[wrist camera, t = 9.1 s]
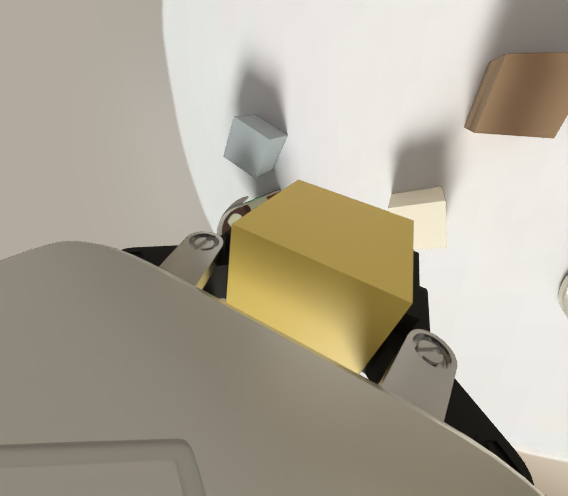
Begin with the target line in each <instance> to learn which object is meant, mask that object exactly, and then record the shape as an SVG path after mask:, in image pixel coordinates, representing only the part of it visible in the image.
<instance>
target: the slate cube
mask: <svg viewBox="0 0 568 496" xmlns="http://www.w3.org/2000/svg"><path fill="white" fill-rule="evenodd" d="M287 136H288V135H287V134H285V133H284V132H282V131H281V130H279V129H278V128H276V127H274V126H273V125H271V124H270V123H268V122H267V121H265V120H264V119H262V118H261V117H259V116H258V115H245V116H234V119H233V122H232V126H231V130H230V134H229V137H228V141H227V145H226V148H225V152H224V157H225V158H226V159H228V160H229V161H231V162H232V163H234V164H235V165H237V166H238V167H240V168H241V169H243V170H244V171H245V172H247V173H248V174H250V175H251V176H253V177H254V178H256V177H258V176H260V175H262V174H264V173H267V172H269V171H271V170H273V168H274V166H275V164H276V161H277V159H278V157H279V154H280V152H281V150H282V147H283V145H284V143H285V140H286V138H287Z"/></svg>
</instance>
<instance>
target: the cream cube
mask: <svg viewBox="0 0 568 496" xmlns="http://www.w3.org/2000/svg"><path fill="white" fill-rule="evenodd" d="M388 212H391V213H394V214H397V215H400V216H403V217H405V218H408V219H411V220H414V244H413V249H432V248H447V229H446V200H445V197H444V194H443V191H442V187H441V186H440V187H433V188H427V189H421V190H415V191H408V192H402V193H396V194H391V198H390V202H389V206H388Z"/></svg>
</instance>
